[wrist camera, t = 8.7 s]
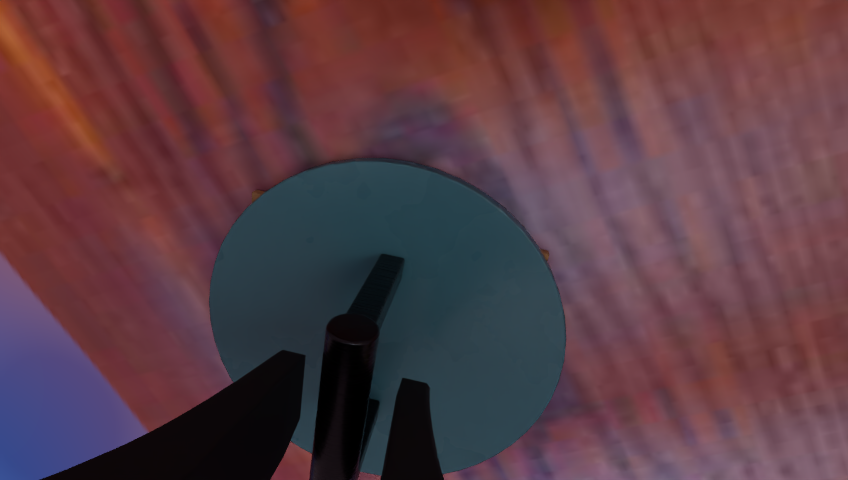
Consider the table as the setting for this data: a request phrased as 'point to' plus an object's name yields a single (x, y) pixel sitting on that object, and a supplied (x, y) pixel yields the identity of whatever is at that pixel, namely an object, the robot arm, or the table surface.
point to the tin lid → (391, 309)
